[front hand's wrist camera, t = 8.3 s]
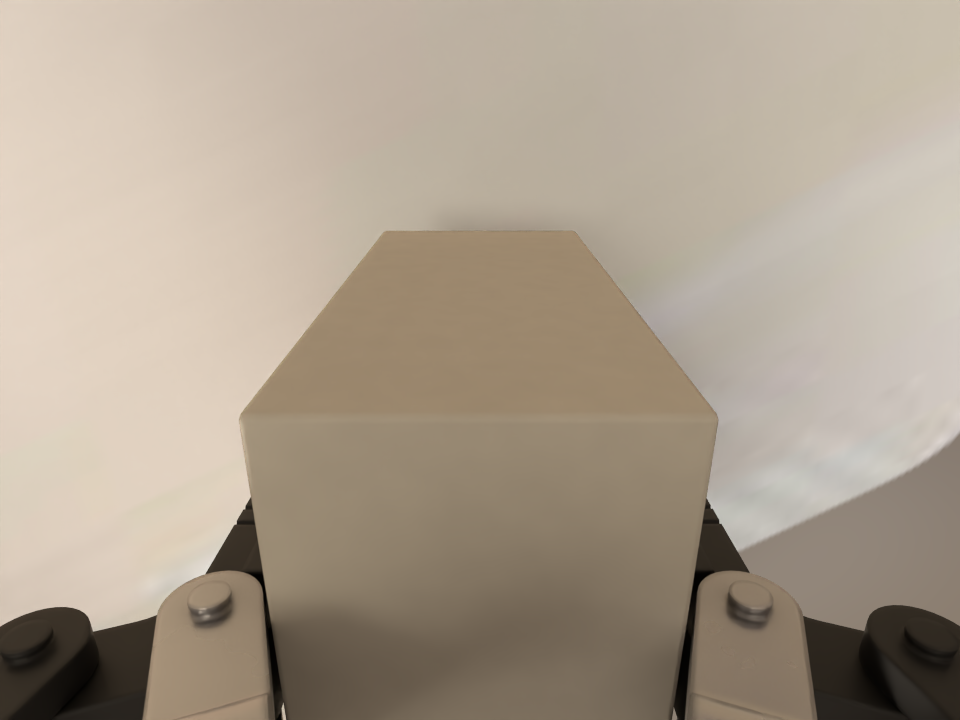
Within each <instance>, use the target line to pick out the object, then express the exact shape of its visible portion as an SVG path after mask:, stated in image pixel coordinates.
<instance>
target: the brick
mask: <svg viewBox="0 0 960 720" xmlns="http://www.w3.org/2000/svg"><path fill="white" fill-rule="evenodd" d="M239 424H240V430H241V437H242V443H243V449H244V456H245V462H246V468H247V475H248V481H249V487H250V494H251V500H252V506H253V512H254V519H255V525H256V531H257V538H258V544H259V550H260V557H261V563H262V569H263V575H264V582H265V588H266V594H267V601H268V607H269V613H270V620H271V626H272V632H273V639H274V645H275V651H276V657H277V664H278V670H279V676H280V683H281V689H282V695H283V702H284V708H285V714H286V720H672V714H673V708H674V702H675V695H676V689H677V682H678V676H679V670H680V663H681V657H682V650H683V644H684V637H685V631H686V625H687V618H688V612H689V605H690V599H691V592H692V586H693V580H694V573H695V567H696V560H697V554H698V548H699V541H700V535H701V528H702V522H703V515H704V509H705V503H706V496H707V490H708V483H709V477H710V470H711V464H712V458H713V451H714V445H715V438H716V432H717V425H718V417H717V414H716V413H715V411H714V410H713V409H712V407H711V406H710V405H709V404H708V402H707V401H706V400H705V398H704V397H703V396H702V395H701V393H700V392H699V391H698V389H697V388H696V387H695V386H694V384H693V383H692V382H691V380H690V379H689V378H688V377H687V375H686V374H685V373H684V371H683V370H682V369H681V368H680V366H679V365H678V364H677V362H676V361H675V360H674V359H673V357H672V356H671V355H670V353H669V352H668V351H667V350H666V348H665V347H664V346H663V344H662V343H661V342H660V341H659V339H658V338H657V337H656V335H655V334H654V333H653V331H652V330H651V329H650V328H649V326H648V325H647V324H646V322H645V321H644V320H643V319H642V317H641V316H640V315H639V313H638V312H637V311H636V310H635V308H634V307H633V306H632V304H631V303H630V302H629V301H628V299H627V298H626V297H625V295H624V294H623V293H622V292H621V290H620V289H619V288H618V286H617V285H616V284H615V283H614V281H613V280H612V279H611V277H610V276H609V275H608V274H607V272H606V271H605V270H604V268H603V267H602V266H601V265H600V263H599V262H598V261H597V259H596V258H595V257H594V256H593V254H592V253H591V252H590V250H589V249H588V248H587V247H586V245H585V244H584V243H583V241H582V240H581V239H580V238H579V236H578V235H577V234H576V232H574V231H385V232H384V233H383V234H382V235H381V236H380V238H379V239H378V240H377V242H376V243H375V244H374V245H373V247H372V248H371V249H370V250H369V252H368V253H367V254H366V255H365V257H364V258H363V259H362V261H361V262H360V263H359V264H358V266H357V267H356V268H355V269H354V271H353V272H352V273H351V275H350V276H349V277H348V278H347V280H346V281H345V282H344V283H343V285H342V286H341V287H340V289H339V290H338V291H337V292H336V294H335V295H334V296H333V297H332V299H331V300H330V301H329V302H328V304H327V305H326V306H325V308H324V309H323V310H322V311H321V313H320V314H319V315H318V316H317V318H316V319H315V320H314V322H313V323H312V324H311V325H310V327H309V328H308V329H307V330H306V332H305V333H304V334H303V336H302V337H301V338H300V339H299V341H298V342H297V343H296V344H295V346H294V347H293V348H292V349H291V351H290V352H289V353H288V355H287V356H286V357H285V358H284V360H283V361H282V362H281V363H280V365H279V366H278V367H277V369H276V370H275V371H274V372H273V374H272V375H271V376H270V377H269V379H268V380H267V381H266V383H265V384H264V385H263V386H262V388H261V389H260V390H259V391H258V393H257V394H256V395H255V396H254V398H253V399H252V400H251V402H250V403H249V404H248V405H247V407H246V408H245V409H244V410H243V412H242V413H241V415H240V418H239Z"/></svg>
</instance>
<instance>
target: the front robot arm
mask: <svg viewBox="0 0 960 720" xmlns="http://www.w3.org/2000/svg"><path fill="white" fill-rule="evenodd" d="M282 705H283V695H282V689H281V683H280V676H279V670H278V664H277V657H276V651H275V645H274V639H273V632H272V626H271V620H270V613H269V607H268V601H267V594H266V588H265V582H264V575H263V569H262V563H261V557H260V550H259V544H258V538H257V531H256V525H255V519H254V512H253V506H252V500H251V498H250V500H249V501H248V503H247V505H246V509H245V510H243V511H242V513H241V515H240V516H239V518H238V520H237V525H234V527H233V528H232V530H231V532H230V533H229V535H228V537H227V539H226V540H225V542H224V544H223V545H222V547H221V549H220V550H219V552H218V554H217V555H216V557H215V559H214V561H213V562H212V564H211V566H210V567H209V569H208V571H207V572H206V574H205V575H202V576H199V577H197V578H194V579H192V580H190V581H188V582H186V583H185V584H183V585H181V586H180V587H178V588H177V589H176V590H174V591H173V592H172V593H171V594H170V595H169V596H168V597H167V598H166V599H165V600H164V602H163V603H162V604H161V606H160V608H159V610H158V614H157V615H156V616H153V617H151V618H148V619H145V620H141V621H138V622H134V623H129V624H125V625H121V626H117V627H112V628H108V629H104V630H99V631H95V632H93V630H92V627H91V624H90V621H89V618H88V617H87V616H86V614H85V613H83V612H81V611H80V610H77V609H74V608H67V607H55V608H47V609H43V610H38V611H35V612H32V613H28V614H25V615H23V616H21V617H18V618H16V619H14V620H12V621H10V622H8V623H6V624H4V625H2V626H1V627H0V720H283V715H282V709H281V708H282ZM674 709H675V712H676V715H677V720H960V626H958V625H957V624H955V623H954V622H952V621H950V620H948V619H946V618H944V617H942V616H939V615H937V614H935V613H932V612H929V611H926V610H923V609H919V608H915V607H910V606H903V605H891V606H884V607H881V608H878V609H876V610H875V611H873V612H872V613H871V614H870V616H869V618H868V621H867V624H866V627H865V631H861V630H856V629H852V628H848V627H844V626H839V625H835V624H830V623H826V622H822V621H818V620H814V619H811V618H807V617H805V616H803V614H802V610H801V608H800V606H799V605H798V603H797V602H796V601H795V599H794V598H793V597H792V596H791V595H790V594H789V593H788V592H787V591H786V590H784V589H783V588H782V587H780V586H779V585H777V584H775V583H774V582H772V581H770V580H768V579H766V578H763V577H761V576H758V575H755V574H751V573H750V572H749V571H748V569H747V567H746V566H745V564H744V562H743V560H742V559H741V557H740V555H739V553H738V552H737V550H736V548H735V547H734V545H733V543H732V541H731V540H730V538H729V536H728V535H727V533H726V531H725V529H724V528H723V526H722V524H719V519H718V517H717V516H716V514H715V512H714V510H713V509H711V508H710V504H709V502H708V500H707V498H706V503H705V509H704V515H703V522H702V528H701V535H700V541H699V548H698V554H697V560H696V567H695V573H694V580H693V586H692V592H691V599H690V605H689V612H688V618H687V625H686V631H685V637H684V644H683V650H682V657H681V663H680V670H679V676H678V682H677V689H676V695H675V702H674Z"/></svg>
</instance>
